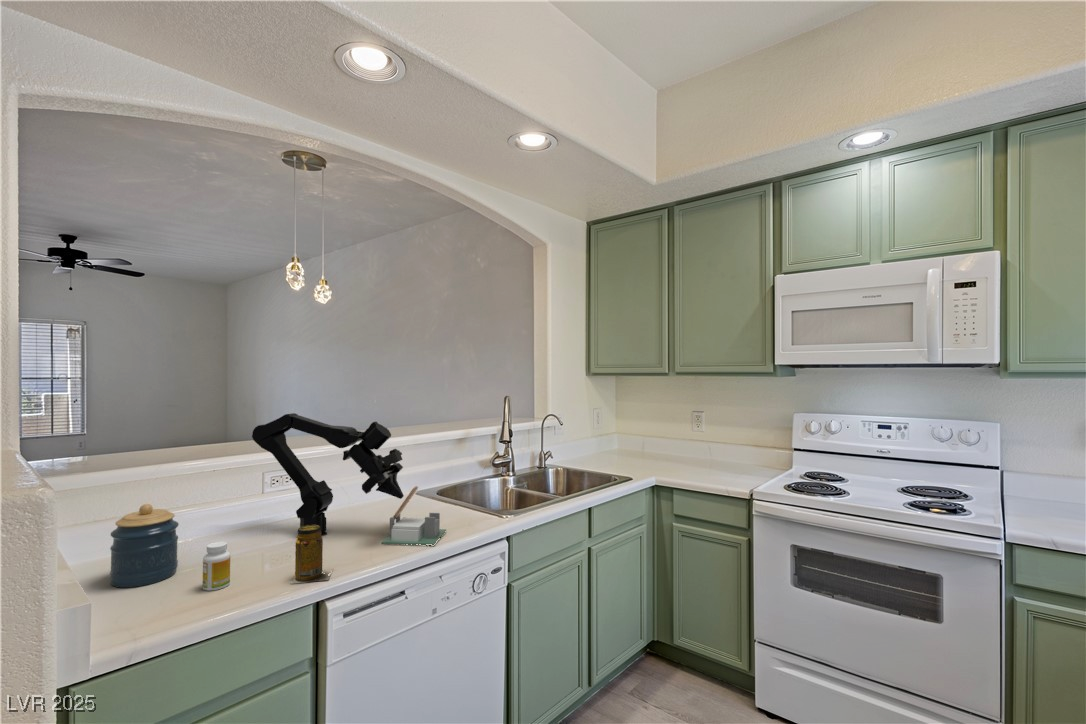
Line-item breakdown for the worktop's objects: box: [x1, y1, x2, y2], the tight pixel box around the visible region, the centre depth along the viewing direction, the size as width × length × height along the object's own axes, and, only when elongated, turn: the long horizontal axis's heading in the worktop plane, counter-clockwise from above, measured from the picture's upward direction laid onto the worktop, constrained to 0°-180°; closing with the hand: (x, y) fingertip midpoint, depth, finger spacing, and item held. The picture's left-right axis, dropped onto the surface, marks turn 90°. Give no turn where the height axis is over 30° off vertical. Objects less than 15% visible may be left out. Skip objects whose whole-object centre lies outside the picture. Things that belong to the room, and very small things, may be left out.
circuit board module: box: [381, 512, 447, 546], centre depth 151 cm, size 16×13×7 cm
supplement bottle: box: [202, 541, 231, 592], centre depth 117 cm, size 5×5×10 cm
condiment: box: [289, 525, 334, 585], centre depth 123 cm, size 7×8×12 cm
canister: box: [109, 503, 180, 588], centre depth 122 cm, size 13×13×18 cm
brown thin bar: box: [392, 485, 419, 521], centre depth 152 cm, size 1×3×12 cm
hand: (402, 497), depth 152 cm, fingers closed
